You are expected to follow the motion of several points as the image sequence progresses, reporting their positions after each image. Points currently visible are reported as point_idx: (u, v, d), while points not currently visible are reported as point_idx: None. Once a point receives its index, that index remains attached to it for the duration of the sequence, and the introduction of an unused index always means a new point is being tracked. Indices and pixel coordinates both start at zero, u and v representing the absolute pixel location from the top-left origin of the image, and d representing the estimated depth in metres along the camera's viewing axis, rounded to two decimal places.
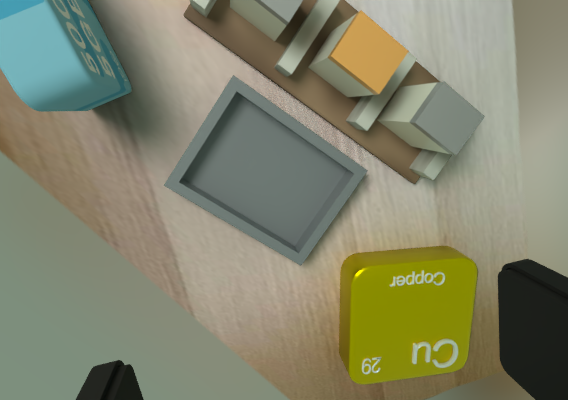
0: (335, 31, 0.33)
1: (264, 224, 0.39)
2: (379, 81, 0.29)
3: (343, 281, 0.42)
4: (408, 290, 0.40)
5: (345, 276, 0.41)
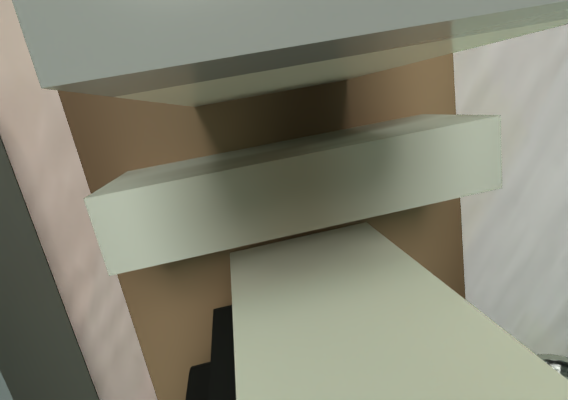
0: (383, 260, 0.08)
1: None
2: None
3: None
4: None
5: None
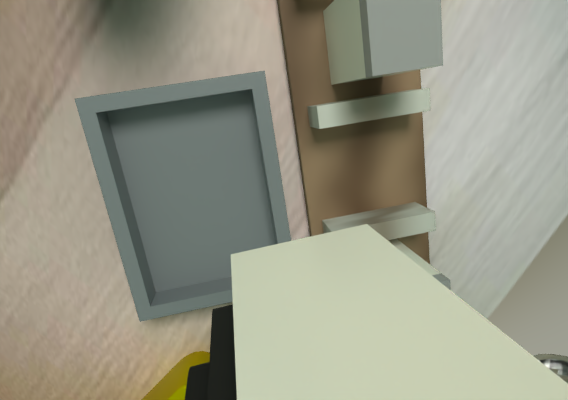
0: (384, 262, 0.08)
1: (146, 242, 0.28)
2: None
3: (174, 374, 0.31)
4: None
5: (180, 371, 0.30)
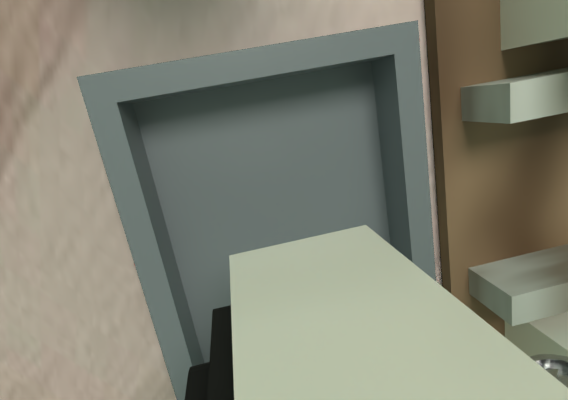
0: (382, 263, 0.08)
1: (197, 314, 0.17)
2: None
3: None
4: None
5: None
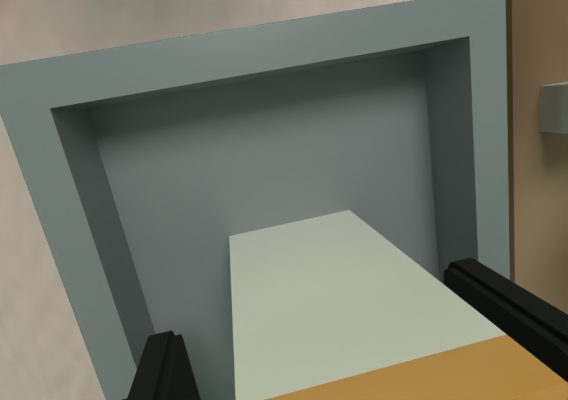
0: (359, 239, 0.10)
1: None
2: None
3: None
4: None
5: None
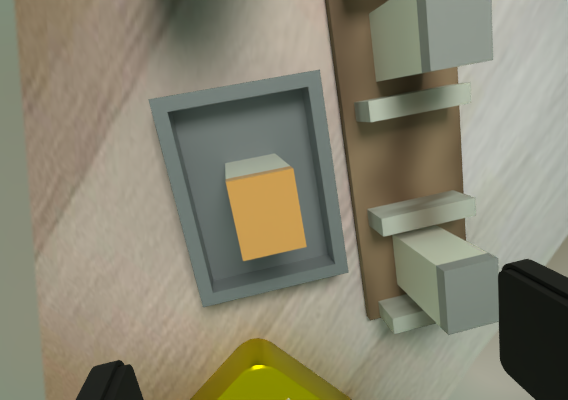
0: (271, 158, 0.27)
1: (205, 233, 0.30)
2: (254, 249, 0.22)
3: (233, 360, 0.33)
4: None
5: (240, 356, 0.32)
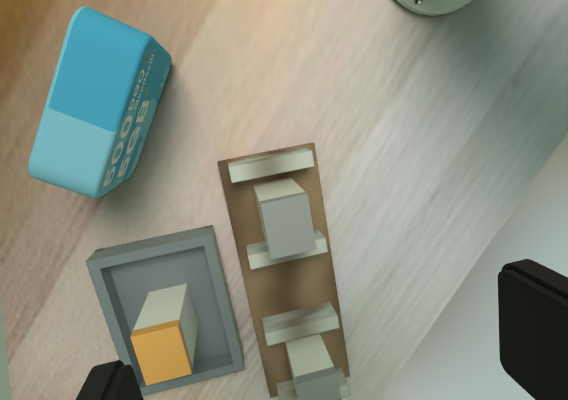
0: (178, 296, 0.37)
1: None
2: (153, 377, 0.32)
3: None
4: None
5: None
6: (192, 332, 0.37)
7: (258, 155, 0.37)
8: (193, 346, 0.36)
